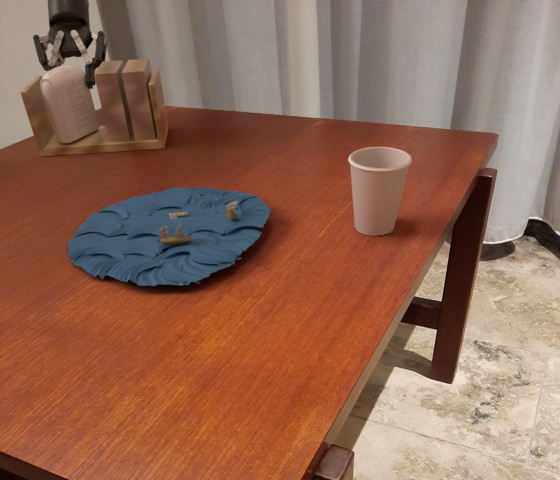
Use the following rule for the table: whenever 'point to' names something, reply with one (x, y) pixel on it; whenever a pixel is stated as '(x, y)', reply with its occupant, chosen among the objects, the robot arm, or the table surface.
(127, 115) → the rack
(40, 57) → the robot arm
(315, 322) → the table surface
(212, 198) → the decorative plate
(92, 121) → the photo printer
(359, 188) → the dixie cup
